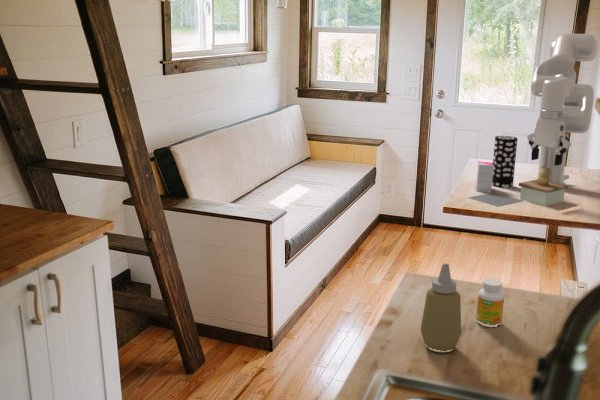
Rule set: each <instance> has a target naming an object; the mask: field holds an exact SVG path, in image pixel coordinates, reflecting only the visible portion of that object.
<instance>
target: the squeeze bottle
mask: <svg viewBox="0 0 600 400" xmlns="http://www.w3.org/2000/svg"><path fill="white" fill-rule="evenodd" d="M461 307H462V305H461V294H460V292H458V291H457V281H456V280H454V279H452V277H451V270H450V264H449V263H447V262H443V263H442V265H441V268H440V272H439V275H438V277H434V279H433V280H432V283H431V288H429V289H428V290H427V291H426V295H425V301H424V307H423V313H422V317H421V318H422V319H421V324H420V332H421V335H422V339H423V343H424V345H425V344H426V345H427V346H428V347H430V348H432V349H436V350H440V351H441V350H442V351H447V350H451V349H454V348H455V349H456V347H457V345H458V342H459V340H460V338H461V335H462V312H461V311H462V308H461ZM455 349H454V350H455Z"/></svg>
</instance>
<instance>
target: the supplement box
mask: <svg viewBox="0 0 600 400" xmlns="http://www.w3.org/2000/svg"><path fill="white" fill-rule="evenodd" d="M476 168H477V169H476V177H475V186H474V189H475V192H482V193H483V192H484V193H485V192H487V193H492V187H493V186H492V179H493V170H494V165H493V161H492V162H488V161H477V167H476Z"/></svg>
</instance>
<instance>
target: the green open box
mask: <svg viewBox="0 0 600 400" xmlns="http://www.w3.org/2000/svg"><path fill="white" fill-rule="evenodd" d="M565 191H566V189H563V190H559V191H554V192H549V193H545V192H541V191H537V190H533V189H529V188H525V187H521V186H520V197H519V200H522V201H523V202H524V201H525V202H528V203H532V204H535V205H540V206H543V207H548V206H552V205H555V204H560V203H564V200H565Z"/></svg>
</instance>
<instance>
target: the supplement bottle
mask: <svg viewBox="0 0 600 400" xmlns="http://www.w3.org/2000/svg"><path fill="white" fill-rule="evenodd" d="M502 290H503V282H502V281H501V280H499V279H496V278H485V279H483V281H482V288H481V289H479V291H478V295H477V305H476V306H477V308H476V316H475V319H476V318H477V320H478V321H480V322H482V323H484V324H489V325H496V324H499V323H501V324H502V322H501V321H503V311H504V303H505V293H504V291H502Z"/></svg>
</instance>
